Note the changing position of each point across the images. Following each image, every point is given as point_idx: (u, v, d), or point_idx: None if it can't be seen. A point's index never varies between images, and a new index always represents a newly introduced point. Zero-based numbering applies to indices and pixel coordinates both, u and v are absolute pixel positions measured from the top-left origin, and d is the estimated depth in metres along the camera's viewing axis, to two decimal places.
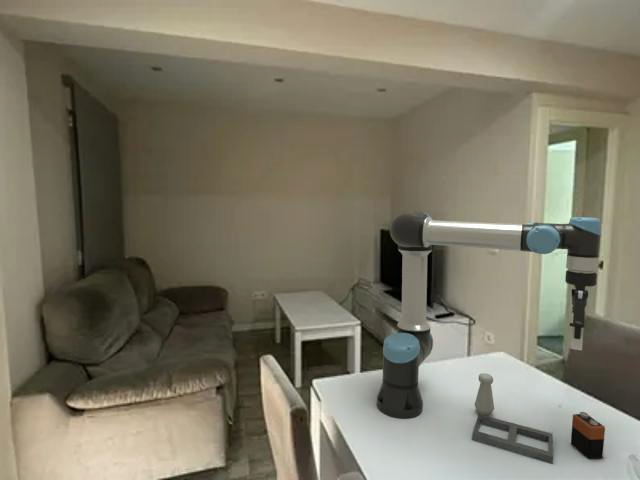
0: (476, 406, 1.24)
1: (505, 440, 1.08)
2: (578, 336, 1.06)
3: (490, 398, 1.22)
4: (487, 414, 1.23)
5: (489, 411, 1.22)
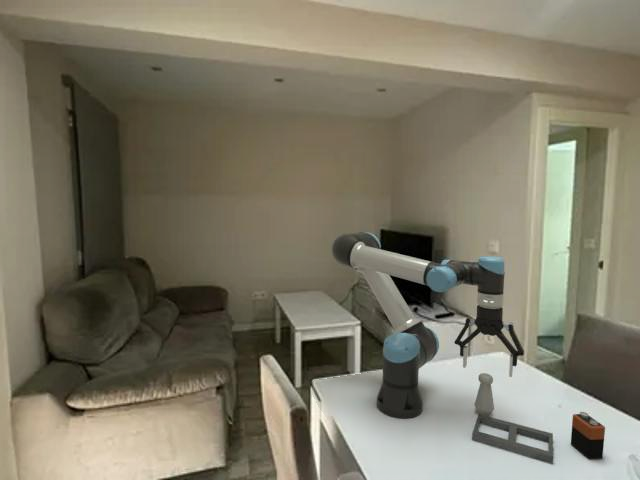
0: (476, 406, 1.24)
1: (505, 440, 1.08)
2: None
3: (490, 398, 1.22)
4: (487, 414, 1.23)
5: (489, 411, 1.22)
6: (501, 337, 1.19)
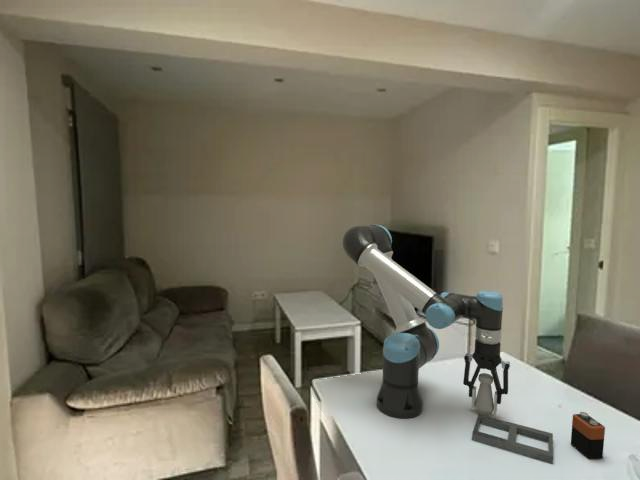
0: (476, 406, 1.24)
1: (505, 440, 1.08)
2: None
3: (490, 398, 1.22)
4: (487, 414, 1.23)
5: (489, 411, 1.22)
6: (494, 373, 1.21)
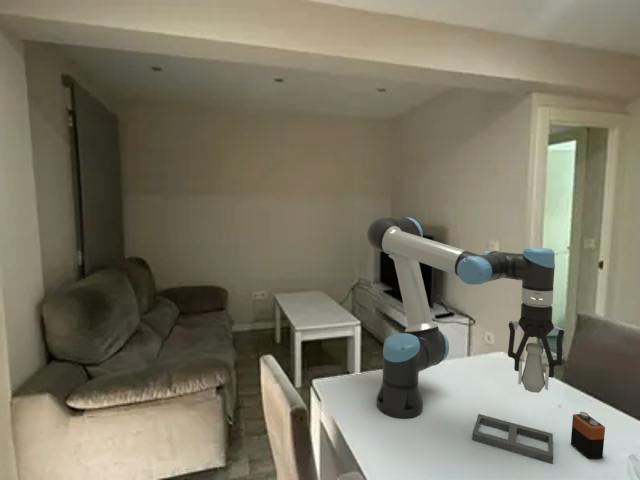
0: (524, 381, 1.07)
1: (505, 440, 1.08)
2: None
3: (541, 371, 1.06)
4: (537, 389, 1.06)
5: (540, 386, 1.05)
6: (545, 342, 1.04)
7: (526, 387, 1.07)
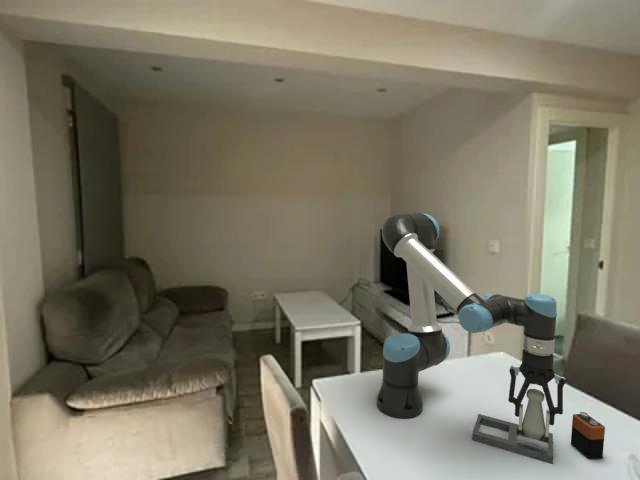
0: (524, 427, 1.07)
1: (505, 440, 1.08)
2: (515, 412, 1.10)
3: (541, 418, 1.06)
4: (538, 437, 1.06)
5: (540, 433, 1.05)
6: (546, 390, 1.04)
7: (526, 433, 1.07)
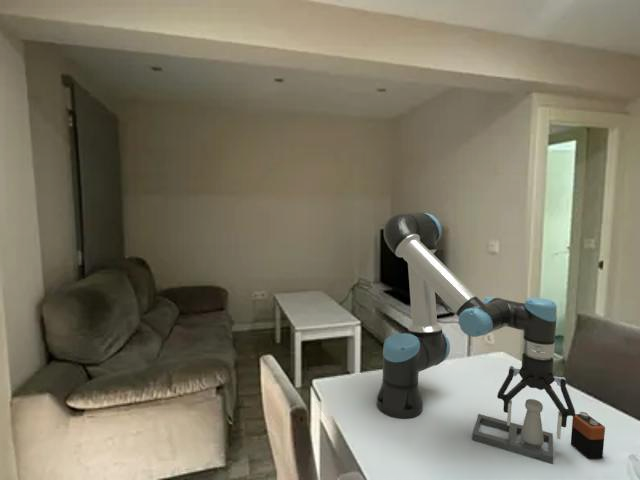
0: (523, 437, 1.08)
1: (505, 440, 1.08)
2: None
3: (540, 428, 1.06)
4: (536, 447, 1.06)
5: (539, 444, 1.06)
6: (550, 393, 1.04)
7: (525, 443, 1.08)
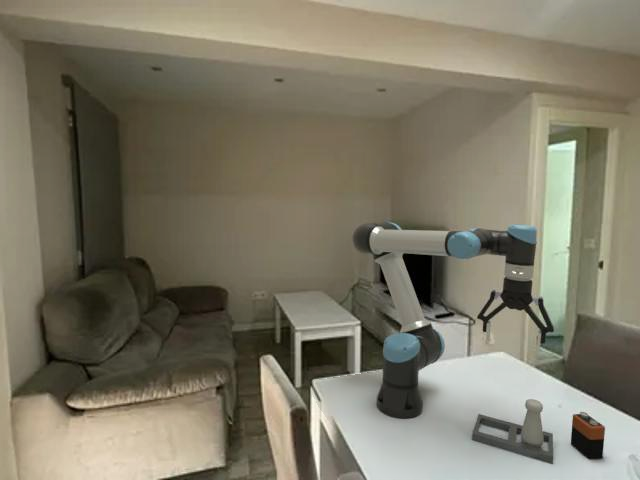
0: (523, 437, 1.08)
1: (505, 440, 1.08)
2: None
3: (540, 428, 1.06)
4: (536, 447, 1.06)
5: (539, 444, 1.06)
6: (529, 312, 1.10)
7: (525, 443, 1.08)
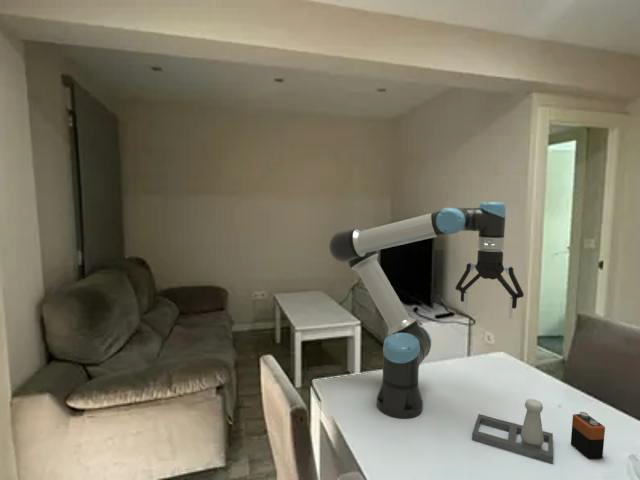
0: (523, 437, 1.08)
1: (505, 440, 1.08)
2: None
3: (540, 428, 1.06)
4: (536, 447, 1.06)
5: (539, 444, 1.06)
6: (501, 280, 1.22)
7: (525, 443, 1.08)
